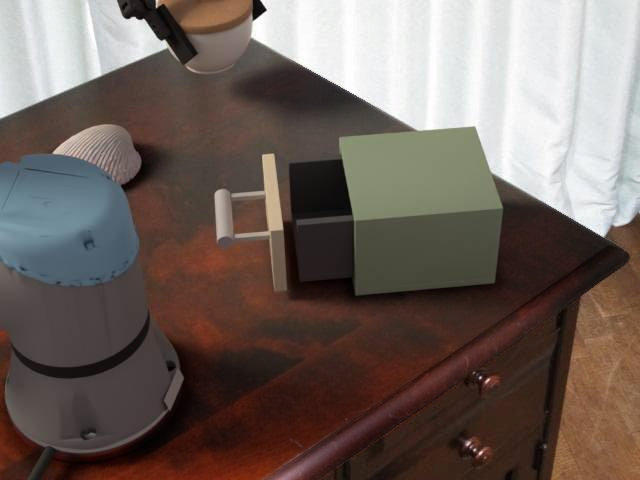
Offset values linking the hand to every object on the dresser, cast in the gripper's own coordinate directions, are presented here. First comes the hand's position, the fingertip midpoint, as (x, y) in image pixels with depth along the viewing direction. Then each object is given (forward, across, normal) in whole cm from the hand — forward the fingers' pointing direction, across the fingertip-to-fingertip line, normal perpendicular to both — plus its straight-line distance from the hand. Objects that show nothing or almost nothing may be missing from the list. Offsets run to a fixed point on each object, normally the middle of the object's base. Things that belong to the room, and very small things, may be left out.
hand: (225, 37), depth 130 cm
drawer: (+23, -15, -12) cm, 30 cm away
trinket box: (+1, 0, +5) cm, 5 cm away
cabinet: (+29, -8, -17) cm, 34 cm away
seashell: (+4, -19, +8) cm, 21 cm away
